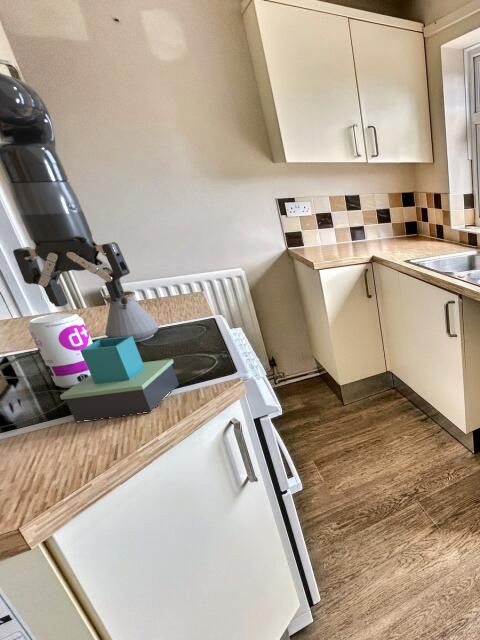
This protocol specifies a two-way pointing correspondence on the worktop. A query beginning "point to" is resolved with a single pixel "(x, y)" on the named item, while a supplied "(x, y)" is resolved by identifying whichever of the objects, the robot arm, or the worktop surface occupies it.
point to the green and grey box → (122, 393)
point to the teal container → (112, 359)
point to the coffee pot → (129, 319)
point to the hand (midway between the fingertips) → (90, 302)
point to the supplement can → (62, 346)
